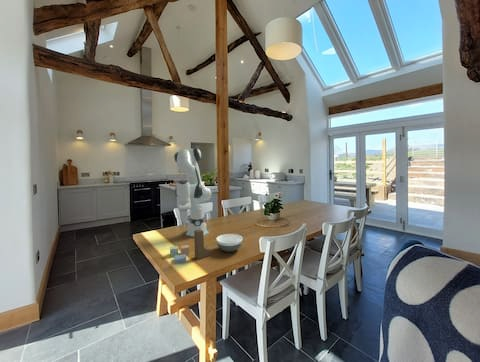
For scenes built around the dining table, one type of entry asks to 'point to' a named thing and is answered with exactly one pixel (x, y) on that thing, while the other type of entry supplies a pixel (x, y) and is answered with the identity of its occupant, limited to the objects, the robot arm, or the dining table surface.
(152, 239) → the dining table surface
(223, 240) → the bowl
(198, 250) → the wooden block
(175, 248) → the sage green cube
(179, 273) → the dining table surface
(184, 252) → the pinkish brown cube
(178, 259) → the slate blue block
